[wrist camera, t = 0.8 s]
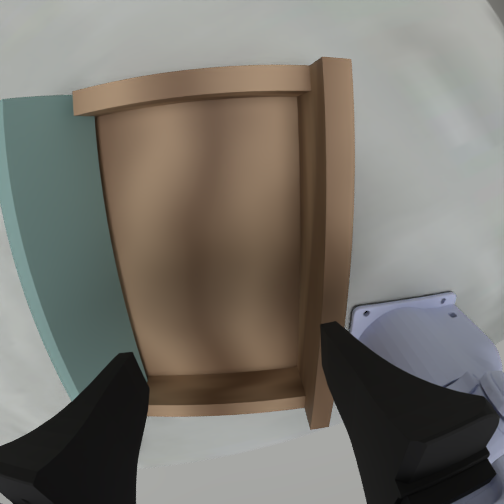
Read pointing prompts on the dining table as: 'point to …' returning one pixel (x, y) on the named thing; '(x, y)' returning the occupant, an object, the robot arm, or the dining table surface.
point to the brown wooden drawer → (230, 228)
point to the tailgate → (62, 236)
